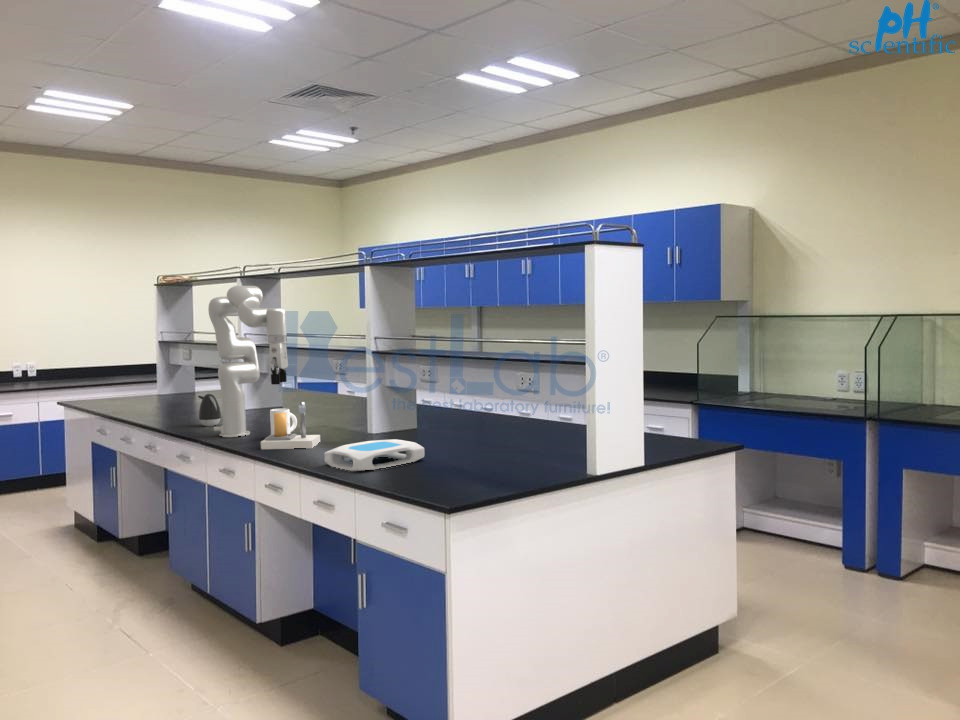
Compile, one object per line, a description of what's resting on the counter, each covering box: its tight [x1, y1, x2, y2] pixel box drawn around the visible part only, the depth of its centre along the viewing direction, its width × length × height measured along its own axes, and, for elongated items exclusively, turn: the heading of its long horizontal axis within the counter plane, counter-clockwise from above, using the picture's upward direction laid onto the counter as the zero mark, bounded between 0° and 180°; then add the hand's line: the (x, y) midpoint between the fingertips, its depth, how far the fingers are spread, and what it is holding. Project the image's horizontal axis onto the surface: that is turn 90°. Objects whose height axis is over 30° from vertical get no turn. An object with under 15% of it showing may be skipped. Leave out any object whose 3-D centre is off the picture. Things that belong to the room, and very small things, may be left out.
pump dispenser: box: [198, 393, 222, 427], centre depth 371 cm, size 10×10×15 cm
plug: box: [273, 412, 288, 438], centre depth 310 cm, size 6×6×10 cm
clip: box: [298, 401, 307, 438], centre depth 304 cm, size 14×2×14 cm, turn 12°
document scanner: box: [324, 438, 425, 472], centre depth 272 cm, size 21×28×6 cm
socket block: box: [260, 433, 321, 450], centre depth 311 cm, size 20×14×4 cm
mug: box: [269, 407, 298, 435], centre depth 331 cm, size 8×12×12 cm
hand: (279, 383), depth 309 cm, fingers open, 9 cm apart
